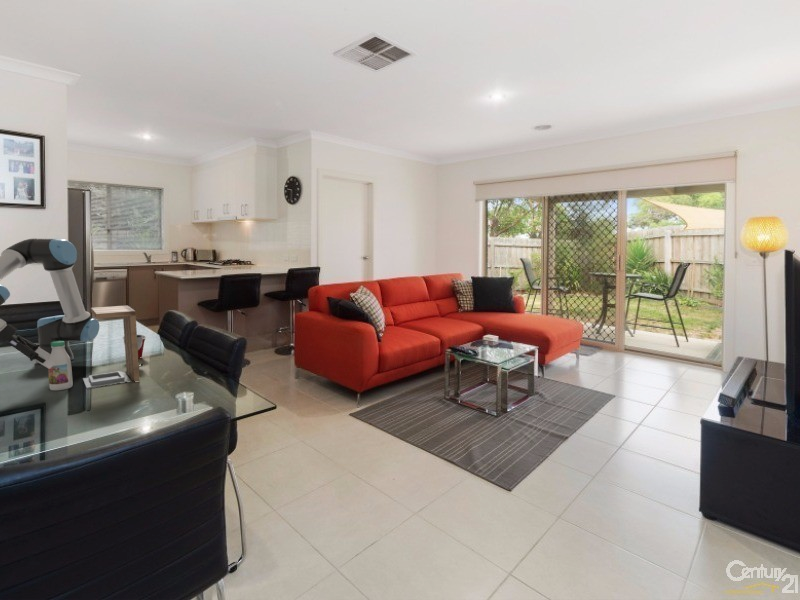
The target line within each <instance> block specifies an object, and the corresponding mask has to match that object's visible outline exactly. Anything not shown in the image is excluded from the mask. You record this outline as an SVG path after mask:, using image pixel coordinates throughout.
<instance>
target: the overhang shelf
mask: <svg viewBox="0 0 800 600" xmlns="http://www.w3.org/2000/svg"><path fill="white" fill-rule="evenodd" d="M90 311H91V314H93V316H94V317H95V319H106V318H107V319H108V318H121V317H122V322H123V337H124V339H123V341H124V340H125V344H124V351H125V353H124V354H125V368H126V369H125V370H126V372H125V373H126V374H127V375H128V374H129V375H130V376H129V375H128V376H129V377H130V379H131V378H132V379H133V380H134V381H140V369H139V368H140V366H139V364H140V363H139V359H138V346H137V335H138V333H137V332H138V331H137V313H136V310H134V308H131V306H129V305H116V306H101V307H99V306H98V307H91V308H90ZM132 379H131V380H132ZM133 380H132V381H133ZM134 381H133V382H134Z"/></svg>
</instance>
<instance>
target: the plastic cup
mask: <svg viewBox="0 0 800 600" xmlns="http://www.w3.org/2000/svg"><path fill="white" fill-rule="evenodd" d="M141 335H142V346H141V348H140V349H139V350H138V358H140V357H143V352H144V345H145V341H146V338H147V336H146V335H143V334H141ZM122 339H123V340H124V336H122ZM140 359H141V358H140Z"/></svg>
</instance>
